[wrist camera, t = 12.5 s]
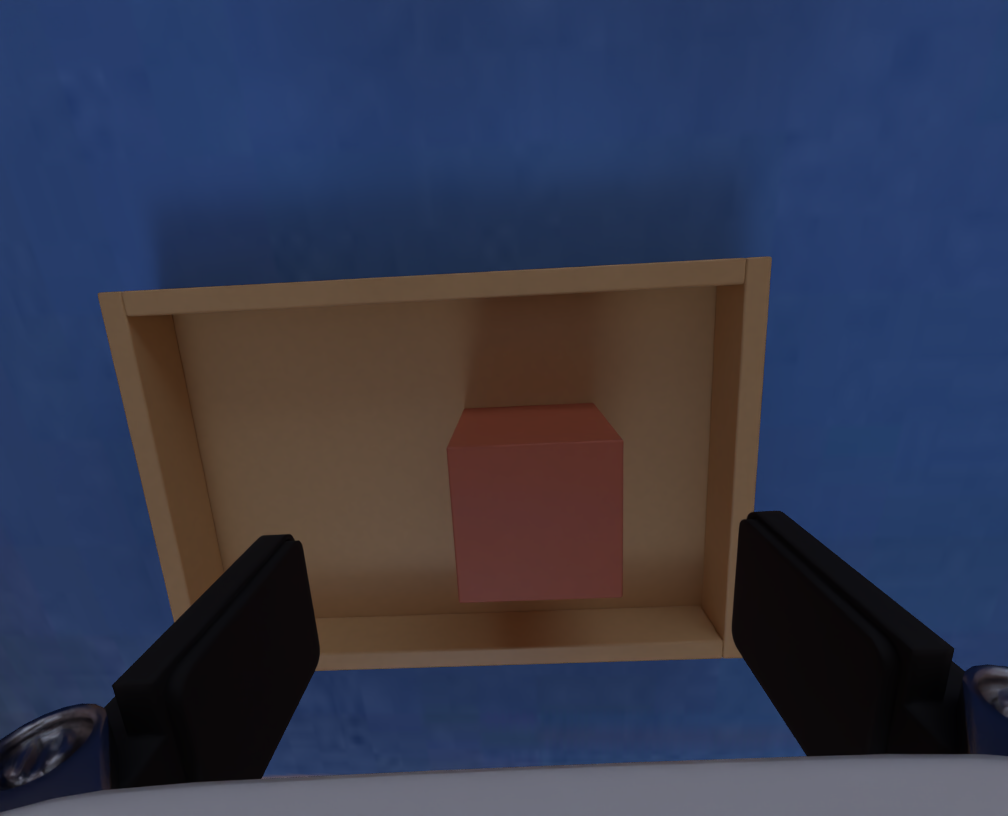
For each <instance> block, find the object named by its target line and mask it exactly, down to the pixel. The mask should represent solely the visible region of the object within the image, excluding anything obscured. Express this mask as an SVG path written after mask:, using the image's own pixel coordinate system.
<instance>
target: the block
mask: <svg viewBox="0 0 1008 816" xmlns="http://www.w3.org/2000/svg"><path fill="white" fill-rule="evenodd" d="M623 447H624V441H623V439H622V438H621V437H620V436H619V434H618V433H617V432H616V431H615V429H614V428H613V427H612V426H611V424H610V423H609V422H608V420H607V419H606V418H605V417H604V415H603V414H602V413H601V412H600V410H599V409H598V408H597V407H596V405H595V404H594V403H575V404H553V405H531V406H510V407H488V408H466V409H464V410H463V412H462V415H461V417H460V419H459V421H458V424H457V426H456V428H455V430H454V433H453V435H452V437H451V439H450V442H449V444H448V446H447V449H446V451H447V464H448V476H449V488H450V500H451V513H452V525H453V537H454V549H455V562H456V574H457V586H458V598H459V602H460V603H474V602H503V601H532V600H561V599H590V598H619V597H622V596H623Z"/></svg>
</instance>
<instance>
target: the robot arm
mask: <svg viewBox="0 0 1008 816" xmlns="http://www.w3.org/2000/svg"><path fill="white" fill-rule="evenodd" d="M732 637H733V641H734V643H735V646H736V648H737V649H738V651H739V652H740V654H741V656H742V657H743V659H744V660H745V662H746V663H747V665H748V666H749V668H750V669H751V671H752V672H753V674H754V675H755V677H756V679H757V680H758V682H759V683H760V685H761V686H762V688H763V689H764V691H765V692H766V694H767V695H768V697H769V698H770V700H771V702H772V703H773V705H774V706H775V708H776V709H777V711H778V712H779V714H780V715H781V717H782V718H783V720H784V721H785V723H786V725H787V726H788V728H789V729H790V731H791V732H792V734H793V735H794V737H795V738H796V740H797V741H798V743H799V745H800V746H801V748H802V749H803V751H804V752H805V754H806V755H807V756H805V757H776V758H747V759H718V760H689V761H660V762H632V763H607V764H582V765H557V766H532V767H508V768H485V769H461V770H437V771H416V772H395V773H374V774H353V775H332V776H311V777H290V778H270V779H261V778H262V776H263V774H264V772H265V770H266V768H267V766H268V764H269V762H270V760H271V758H272V756H273V754H274V752H275V750H276V748H277V746H278V744H279V742H280V740H281V738H282V736H283V734H284V732H285V730H286V728H287V726H288V724H289V722H290V720H291V718H292V716H293V714H294V712H295V710H296V708H297V706H298V704H299V702H300V700H301V698H302V696H303V694H304V692H305V690H306V688H307V686H308V684H309V682H310V680H311V678H312V676H313V674H314V672H315V670H316V667H317V665H318V662H319V657H320V644H319V638H318V632H317V626H316V620H315V615H314V609H313V603H312V597H311V591H310V585H309V579H308V574H307V568H306V562H305V556H304V550H303V546H302V543H301V542H300V541H299V540H296V541H295V539H294V538H293V536H292V535H291V534H279V535H262V536H260V537H259V538H258V539H257V540H256V541H255V542H254V543H253V544H252V545H251V546H250V547H249V548H248V549H247V550H246V551H245V552H244V553H243V554H242V555H241V556H240V557H239V558H238V559H237V560H236V561H235V562H234V563H233V564H232V565H231V566H230V567H229V568H228V569H227V570H226V571H225V572H224V573H223V574H222V575H221V576H220V577H219V578H218V579H217V580H216V581H215V582H214V583H213V584H212V585H211V586H210V587H209V588H208V589H207V590H206V591H205V592H204V593H203V594H202V595H201V596H200V597H199V598H198V599H197V600H196V601H195V602H194V603H193V604H192V605H191V606H190V607H189V608H188V609H187V610H186V611H185V612H184V613H183V614H182V615H181V616H180V617H179V618H178V619H177V620H176V622H175V623H174V624H173V625H172V626H171V627H170V628H169V629H168V630H167V631H166V632H165V633H164V634H163V635H162V636H161V637H160V638H159V639H158V640H157V641H156V642H155V643H154V644H153V645H152V646H151V647H150V648H149V649H148V650H147V651H146V652H145V653H144V654H143V655H142V656H141V657H140V658H139V659H138V660H137V661H136V662H135V663H134V664H133V665H132V666H131V667H130V668H129V669H128V670H127V671H126V672H125V673H124V674H123V675H122V676H121V677H120V678H119V679H118V680H117V681H116V682H115V683H114V684H113V685H112V687H113V690H114V693H115V697H114V698H113V699H112V700H111V701H110V702H109V703H108V704H107V705H106V706H105V707H104V708H103V707H101V706H99V705H97V704H77V705H72V706H67V707H63V708H61V709H58V710H55V711H52V712H50V713H47V714H44V715H42V716H40V717H38V718H36V719H34V720H32V721H30V722H28V723H26V724H24V725H22V726H21V727H19V728H18V729H16V730H15V731H13V732H12V733H10V734H9V735H7V736H5V737H4V738H2V739H1V740H0V816H1008V667H1006V666H997V665H988V664H987V665H979V666H973V667H971V668H969V669H968V670H966V671H963V670H962V669H961V668H960V667H959V666H957V665H956V664H955V663H954V662H953V661H952V657H953V653H954V648H953V647H952V646H950V645H949V644H948V643H947V642H945V641H944V640H943V639H942V638H940V637H939V636H938V635H937V634H935V633H934V632H933V631H932V630H930V629H929V628H928V627H927V626H925V625H924V624H923V623H922V622H920V621H919V620H918V619H916V618H915V617H914V616H913V615H911V614H910V613H909V612H908V611H906V610H905V609H904V608H903V607H901V606H900V605H899V604H898V603H896V602H895V601H894V600H893V599H891V598H890V597H889V596H888V595H886V594H885V593H884V592H882V591H881V590H880V589H879V588H877V587H876V586H875V585H874V584H872V583H871V582H870V581H869V580H867V579H866V578H865V577H864V576H862V575H861V574H860V573H859V572H857V571H856V570H855V569H854V568H852V567H851V566H850V565H848V564H847V563H846V562H845V561H843V560H842V559H841V558H840V557H838V556H837V555H836V554H835V553H833V552H832V551H831V550H830V549H828V548H827V547H826V546H825V545H823V544H822V543H821V542H819V541H818V540H817V539H816V538H814V537H813V536H812V535H811V534H809V533H808V532H807V531H806V530H804V529H803V528H802V527H801V526H799V525H798V524H797V523H796V522H794V521H793V520H792V519H791V518H789V517H788V516H787V515H785V514H784V513H783V512H781V511H764V512H751V513H749V514H748V516H747V519H743V520H741V522H740V524H739V533H738V547H737V560H736V574H735V587H734V601H733V614H732Z"/></svg>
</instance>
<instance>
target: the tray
mask: <svg viewBox="0 0 1008 816" xmlns="http://www.w3.org/2000/svg"><path fill="white" fill-rule="evenodd" d="M771 260H772V258H771V257H750V258H732V259H713V260H695V261H676V262H658V263H639V264H621V265H602V266H584V267H565V268H547V269H529V270H510V271H492V272H473V273H455V274H436V275H418V276H399V277H381V278H362V279H344V280H325V281H307V282H288V283H270V284H251V285H233V286H214V287H196V288H177V289H159V290H140V291H124V292H103V293H98V298H99V303H100V307H101V311H102V315H103V320H104V324H105V328H106V333H107V337H108V341H109V345H110V350H111V354H112V358H113V362H114V367H115V371H116V375H117V380H118V384H119V388H120V392H121V397H122V401H123V405H124V410H125V414H126V418H127V422H128V427H129V431H130V435H131V439H132V444H133V448H134V452H135V457H136V461H137V465H138V469H139V474H140V478H141V482H142V486H143V491H144V495H145V499H146V504H147V508H148V512H149V516H150V521H151V525H152V529H153V533H154V538H155V542H156V546H157V551H158V555H159V559H160V563H161V568H162V572H163V576H164V581H165V585H166V589H167V593H168V598H169V602H170V606H171V610H172V615H173V619H174V623H175V622H176V620H177V619H178V618H179V617H180V616H181V615H182V614H183V613H184V612H185V611H186V610H187V609H188V608H189V607H190V606H191V605H192V604H193V603H194V602H195V601H196V600H197V599H198V598H199V597H200V596H201V595H202V594H203V593H204V592H205V591H206V590H207V589H208V588H209V587H210V586H211V585H212V584H213V583H214V582H215V581H216V580H217V579H218V578H219V577H220V576H221V575H222V574H223V573H224V572H225V571H226V570H227V569H228V568H229V567H230V566H231V565H232V564H233V563H234V562H235V561H236V560H237V559H238V558H239V557H240V556H241V555H242V554H243V553H244V552H245V551H246V550H247V549H248V548H249V547H250V546H251V545H252V544H253V543H254V542H255V541H256V540H257V539H258V538H259V537H260V536H262V535H279V534H291V535H292V536H293V538H294V539H295V541H296V540H299V541H300V542H301V543H302V546H303V550H304V556H305V562H306V568H307V574H308V579H309V585H310V591H311V597H312V603H313V609H314V615H315V620H316V626H317V632H318V638H319V644H320V657H319V662H318V665H317V667H316V670H315V671H324V670H356V669H389V668H421V667H453V666H486V665H518V664H551V663H583V662H616V661H648V660H681V659H713V658H722V657H723V658H743V657H742V656H741V654H740V652H739V651H738V649H737V648H736V646H735V643H734V641H733V637H732V614H733V601H734V587H735V574H736V560H737V547H738V533H739V524H740V522H741V520H743V519H747V516H748V514H749V513H751V512H754V501H755V487H756V473H757V459H758V444H759V430H760V416H761V402H762V388H763V374H764V360H765V345H766V331H767V317H768V303H769V289H770V275H771ZM575 403H594V404H595V405H596V407H597V408H598V409H599V410H600V412H601V413H602V414H603V415H604V417H605V418H606V419H607V420H608V422H609V423H610V424H611V426H612V427H613V428H614V429H615V431H616V432H617V433H618V434H619V436H620V437H621V438H622V439H623V441H624V447H623V596H622V597H619V598H590V599H561V600H532V601H503V602H474V603H460V602H459V598H458V586H457V574H456V562H455V549H454V537H453V525H452V513H451V500H450V488H449V476H448V464H447V451H446V449H447V446H448V444H449V442H450V439H451V437H452V435H453V433H454V430H455V428H456V426H457V424H458V421H459V419H460V417H461V415H462V412H463V410H464V409H466V408H488V407H510V406H531V405H553V404H575Z"/></svg>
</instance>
